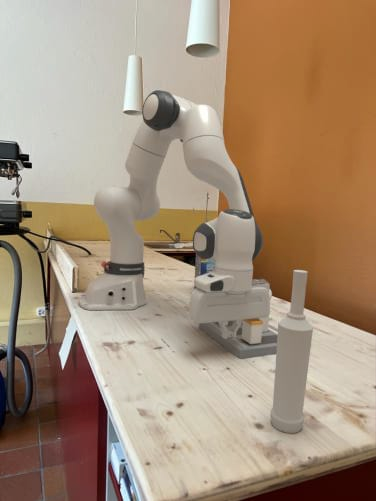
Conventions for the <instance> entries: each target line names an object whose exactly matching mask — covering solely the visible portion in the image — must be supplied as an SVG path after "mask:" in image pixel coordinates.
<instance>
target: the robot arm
mask: <svg viewBox="0 0 376 501" xmlns="http://www.w3.org/2000/svg"><path fill="white" fill-rule="evenodd" d="M141 109H142V110H141V115H142V121H141V123H140V125H139V127H138V129H137V131H136V133H135V136H134V138H133V140H132V143H131V145H130V149H129V152H128V154H127V156H126V157H127V158H126V161H125V163H124V166H125V170H126V172H127V173H128V174H129V185H128V186H127V187H125V186H117V185H116V186H115V185H113V186H108V187H107V186H106V187H102V188H100V189H98V191H97V192H96V193H95V195H94V200H93V207H94V211H95V213H96V214H97V216H99V217H100V219H101V220H102V221H103V222H104V225H105V226H106V228H107V231H108V234H109V240H110V245H109V246H110V251H109V252H110V253H109V256H110V259H109V261H108V262H106V261H105V260H103V261H102V262H100V265H101V266H100V267H102V268H103V272H102V273H101V274H100V275H98V277H96V278H95V279H93V280H92V281H90V282H89V283H88V286H87V288H86V291H85V295H84V296H81V297H79V299H78V305H79V307H81V308H82V309H84V310H86V311H92V310H93V311H101V310H103V311H106V310H110V311H111V310H114V311H115V310H116V311H118V310H119V311H120V310H122V311H123V310H124V311H125V310H128V311H129V310H135V309H137V308H138V307H142V306H144V305H146V304H147V298H146V295H145V294H146V293H145V287H144V277H145V269H146V268H145V267H146V266H145V262H144V254H145V252H144V250H145V249H144V248H145V247H144V246H145V245H144V244H145V241H144V237H143V236H142V235H141V234H139V233H138V232H137V230H136V225H135V222H136V221H137V222H139V221H141V222H142V221H148V220H151V219H154V218H155V217H157V215H158V214H159V212H160V208H161V201H160V199H159V196H158V194H157V186H158V185H157V184H158V183H157V182H158V178H159V175H160V173H161V169H162V167H163V163H164V162H165V158H166V156H167V154H168V151H169V147H170V146H171V143H172V142H173V141H175V140H180V142H181V143H182V152H183V158H184V163H185V166H186V168H187V170H188V172H190V174H192V175H193V177H195V178H196V179H198V180H199V181H201V182H204V183H206V184H208V185H211V186H212V187H214V188H215V189H218V191H219V192H221V193H222V194H223V195H224V197H225V198H226V201H227V204H228V207H229V208H227V209H222V210H221V211H220V213H219V214H218V216H217V217H215V218H213V220H209V221H206V222H202V223H201V224H199V225H198V226H197V228H196V229H195V231H194V232H193V236H192V249H193V251H194V252H195V255H196V254H197V255H198V256H199V257H200V258H201V259H205V260H216V263H215V270H213V271H211V272H209V273H206V274H204V275H201V276H198V277H196V278H195V277H194V279H193V285H195V286H196V287H197V288H195V289H194V288H193V290H192V292H191V294H190V299H189V308H188V317H189V319H190V320H191V321H193V322H194V323H195V324H199V323H210V322H218V323H219V325H220V327H221V329H222V337H223V338H224V339H228V338H236V332H237V330H238V329H239V327H240V325H241V323H242V320H243V319H255V318H266V317H267V316H268V315H269V316H270V314H271V300H270V297H269V290H271V288H270V286H271V285H270V283H269V281H268V280H266V279H264V278H259V279H256V278H255V279H253V278H254V277H253V275H254V265H253V261H254V260H255V259H256V258H257V257H258V256H259V254H261V252H262V249H263V247H264V237H263V234H262V231H261V229H260V226H259V225H258V223H257V221H256V219H255V218H256V217H255V215H254V212H253V209H252V206H251V205H252V204H251V202H250V198H249V194H248V192H247V188H246V185H245V182H244V179H243V175H242V174H241V171H240V170H239V168H238V167H237V166H236V165H235V164H234V163H233V161H232V159H231V158H230V156H229V153H228V151H227V149H226V145H225V138H224V132H223V128H222V124H221V122H220V118H219V116H218V113H217V111H216V109H214V108H213V107H212V106H210V105H208V104H203V103H201V104H196V103H194V101H191V100H189V99H187V98H185V97H184V98H183V97H182V96H178V95H175V94H172V93H170V92H169V91H165V90H162V89H161V90H158V89H157V90H153V91H152V92H150V93H149V94H148V95H147V96H146V98H145V100H144V102H143V105H142V108H141ZM228 321H232V322H234V323H233V325H232V327H231V328H230V329H227V328H226V325H228Z"/></svg>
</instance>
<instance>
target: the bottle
mask: <svg viewBox="0 0 376 501" xmlns="http://www.w3.org/2000/svg"><path fill="white" fill-rule="evenodd" d="M292 272H293V273H292V289H291V297H290V298H291V299H290V310H289V312H287V314H286V315H287V316H285V317H284V318H282V319H280V321H278V325H277V326H278V327H277V329H278V336H277V351H276V354H275V368H274V385H273V398H272V407H271V408H270V409H271V410H270V422H271V425H272V426H273V427H274V428H275V429H276V430H278V431H280V432H283V433H287V434H295V433H298V432H300V431H301V430H302V427H303V426H304V421H305V420H304V419H305V416H304V414H303V413H304V406H305V396H306V389H307V388H306V387H307V381H308V373H309V372H308V371H309V364H310V356H311V347H312V340H313V332H314V327H313V325H312V324H311V323H310V321H308V320H307V319H306V314H304V313H305V312H304V310H305V299H306V291H307V290H306V288H307V283H308V282H307V281H308V280H307V279H308V270H307V271H306V270H301V269H294V270H293V271H292Z"/></svg>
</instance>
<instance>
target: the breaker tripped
mask: <svg viewBox="0 0 376 501" xmlns="http://www.w3.org/2000/svg"><path fill="white" fill-rule="evenodd" d="M262 324H263V321H262V320H260V319H258V318H255V319H243V324H242V339H243V340H245V341H246V342H248V343H249V344H256V343H261V336H262Z"/></svg>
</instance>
